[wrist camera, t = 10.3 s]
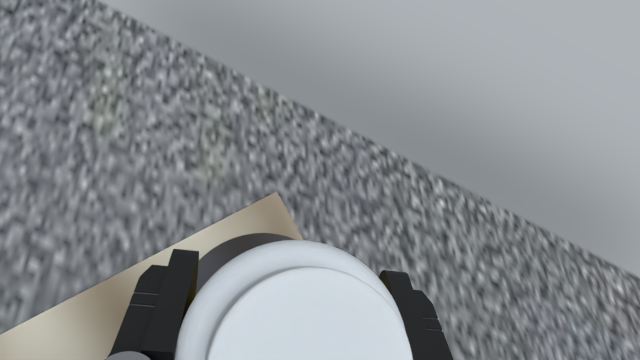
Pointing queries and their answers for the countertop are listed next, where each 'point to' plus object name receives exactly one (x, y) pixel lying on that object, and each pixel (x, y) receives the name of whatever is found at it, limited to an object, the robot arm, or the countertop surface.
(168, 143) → the countertop surface
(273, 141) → the countertop surface
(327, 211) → the countertop surface
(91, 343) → the peg stand
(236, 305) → the supplement bottle
